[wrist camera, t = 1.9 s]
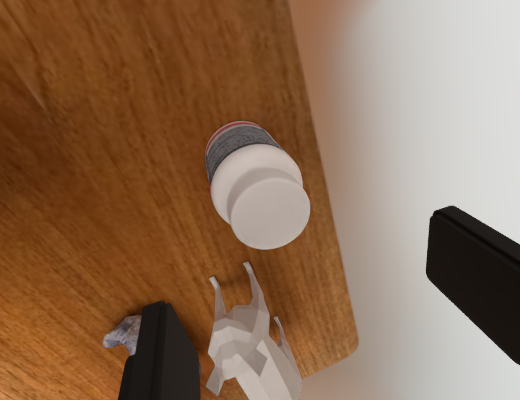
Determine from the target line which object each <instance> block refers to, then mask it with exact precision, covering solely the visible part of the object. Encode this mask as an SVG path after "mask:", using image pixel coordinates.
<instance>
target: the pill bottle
mask: <svg viewBox="0 0 520 400" xmlns="http://www.w3.org/2000/svg"><path fill="white" fill-rule="evenodd" d="M205 164H206V170H207V175H208V181H209V187H210V193H211V198H212V201H213V204H214V207H215V209H216V210H217V212H218V214H219V215H220V216H221V217H222V218H223V219H224V220H225V221H226V222H227V223H229V224H230V225H231V227H232V230H233V232H234V234H235V235H236V236H237V238H238V239H239V240H240V241H241V242H242V243H244V244H245V245H247V246H249V247H252V248H255V249H263V250H268V249H274V248H278V247H281V246H284V245H286V244H288V243H289V242H291V241H292V240H294V239H295V238H296V237H297V236H298V235H299V234H300V233H301V232H302V231H303V229H304V228H305V226H306V224H307V222H308V219H309V216H310V202H309V199H308V196H307V194H306V192H305V191H304V189H303V182H302V176H301V172H300V170H299V168H298V166H297V164H296V163H295V162H294V160H293V159H292V158H291V157H290V156H289V155H288V154H287V153H286V152H285V151H284V150H283V149H282V148H281V147H280V146H279V145H278V144H277V143H276V142H275V140H274V139H273V138H272V137H271V136H270V134H269V133H268V132H267V131H266V130H264V129H263V128H262V127H260V126H259V125H257V124H255V123H252V122H247V121H237V122H232V123H229V124H226V125H225V126H223V127H221V128H220V129H218V130H217V131H216V132H215V133H214V134H213V135H212V137H211V138H210V140H209V142H208V144H207V147H206V151H205Z"/></svg>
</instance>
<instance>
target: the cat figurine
mask: <svg viewBox="0 0 520 400" xmlns="http://www.w3.org/2000/svg"><path fill="white" fill-rule="evenodd" d="M243 264H244V266H245V268H246V270H247V272H248V274H249V277H250V285H251V293H252V301H251V303H250V305H235V306H234V307H233V308H232V309H231V310H230V311H229V312H228V313H227V314H226V309H225V305H224V302H223V298H222V295H221V291H220V285H219V283H218V282H217V280H216V279H215V277H214V276H212V277H210V278H209V279H210V281H211V283H212V285H213V286H214V288H215V323H214V325H213V330H212V335H211V340H210V344H209V349H208V354H209V355H210V357H211V358H212V360H213V361H214V363H215V367H214V369H213V371H212V373H211V375H210V378H209V380H208V382H207V384H206V387H207V388H208V389H209V390H211V391H212V392H213V393H214V394H216V395H217V396H218V395H219V392H220V390H221V387H222V385H223V382H224V380H227V379H230V378H233V377H236V379H237V381H238V382H239V384H240V385H241V387H242V389H243V390H244V392H245V393H246V395H247V397H248V398H249V400H300V391H301V384H302V378H301V375H300V373H299V370H298V367H297V365H296V362H295V360H294V357H293V354H292V352H291V349H290V346H289V344H288V343H287V341H286V339H285V335H284V332H283V329H282V326H281V323H280V321H279V319H278V317H277V316H275V317H274V320H275V321H276V323H277V325H278V327H279V330H280V339H279V342H278V346H277V345H276V344H275V342H274V341H273V340H272V339H271V337H270V336H269V318H270V315H269V312H268V309H267V306H266V304H265V301H264V296H263V292H262V290H261V288H260V286H259V284H258V282H257V280H256V278H255V276H254V273H253V270H252V268H251V266H250V264H249V262H248V261H246V262H244V263H243Z"/></svg>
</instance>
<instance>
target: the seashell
mask: <svg viewBox="0 0 520 400" xmlns="http://www.w3.org/2000/svg"><path fill="white" fill-rule="evenodd" d="M141 317H142V315H141V316H140V315H138V314H137V315H135V316H128V317H126V318H125V319H124V320H123V321H122V322H121V323H120V324H119V325H118V326H117V327H116V328H114V329H113V330H112V331H111V332H110V333H108V334H107V335H106V336H105V337H104V339H103V345H104V347H105V348H110V347H114V346H116V345H118V344H125V346H126V347H127V349H128V351H129V353H130V356H131V355H134V354H135V351H136V345H137V339H138V334H139V328H140V322H141ZM200 373H201V366H200V363H199V374H200Z"/></svg>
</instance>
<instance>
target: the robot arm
mask: <svg viewBox="0 0 520 400" xmlns="http://www.w3.org/2000/svg"><path fill="white" fill-rule="evenodd" d="M426 274H427V277H428V278H429V280H430V281H431V282H432V283H433V284H434V285H435V286H436V287H437V288H438V289H439V290H440V291H441V292H442V293H443V294H444V295H445V296H446V297H447V298H448V299H449V300H451V302H453V303H454V304H455V305H456V306H457V307H458V308H459V309H460V310H461V311H462V312H463V313H464V314H465V315H466V316H467V317H469V319H470V320H471V321H472V322H473V323H474V324H475V325H476V326H478V327H479V328H480V329H481V330H482V331H483V332H484V333H485V334H486V335H487V336H488V337H489V338H490V339H491V340H492V341H493V342H494V343H495V344H496V345H497V346H498V347H499V348H501V350H503V351H504V352H505V353H506V354H507V355H508V356H509V357H510V358H511V359H512V360H513V361H514V362H515V363H517V364H519V365H520V244H518V243H516V242H515V241H513V240H511V239H509V238H508V237H506V236H504V235H503V234H501V233H499V232H498V231H496V230H494V229H492V228H491V227H489V226H488V225H486V224H484V223H482V222H481V221H479V220H477V219H476V218H474V217H472V216H471V215H469V214H467V213H466V212H464V211H462V210H460V209H459V208H457V207H455V206H448V207H445V208H442V209H439V210H436V211H434V213H433V216H432V217H431V218H430V225H429V237H428V250H427V262H426ZM118 400H200V374H199V358H198V354H197V351H196V349H195V347H194V345H193V344H192V342H191V340H190V338H189V336H188V334H187V333H186V331H185V329H184V327H183V325H182V324H181V322H180V320H179V318H178V316H177V314H176V313H175V311H174V309H173V307H172V305H171V304H170V303H167V304H165V303H164V302H163V301H159V302H156V303H153V304H150V305H147V306H144V308H143V311H142V317H141V322H140V328H139V334H138V339H137V345H136V351H135V354H134V355H131V356H129V357H128V359H127V360H126V363H125V367H124V372H123V377H122V382H121V387H120V392H119V397H118Z"/></svg>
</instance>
